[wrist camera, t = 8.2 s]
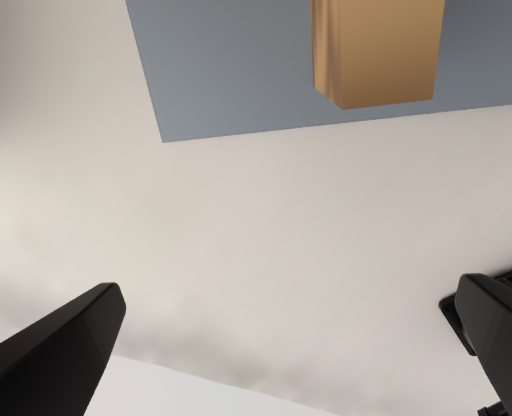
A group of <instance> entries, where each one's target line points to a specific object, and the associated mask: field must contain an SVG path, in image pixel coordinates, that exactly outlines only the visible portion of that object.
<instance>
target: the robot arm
mask: <svg viewBox="0 0 512 416" xmlns="http://www.w3.org/2000/svg"><path fill="white" fill-rule="evenodd" d="M438 306H439V308H440V310H441V311H442V313H443V314H444V316H445V317H446V319H447V321H448V322H449V324H450V325H451V327H452V328H453V330H454V331H455V333H456V334H457V336H458V338H459V339H460V341H461V342H462V344H463V345H464V347H465V348H466V350H467V351H468V353H469V354H470V355H471V356H477V357H478V359H479V361H480V363H481V365H482V367H483V369H484V371H485V373H486V375H487V377H488V379H489V380H490V382H491V384H492V386H493V387H494V389H495V391H496V393H497V394H498V396H499V398H500V400H501V401H499V402H497V403H495V404H494V405H492V406H490V407H488V408H486V407H484V408H482V409H480V410H478V411H477V412H478V415H479V416H512V271H511V272H509V273H506V274H504V275H502V276H499V277H497V278H495V279H492V278H490V277H488V276H486V275H484V274H481V273H469V274H463V275H462V276H461V277H460V280H459V284H458V288H457V292H456V295H454V296H452V297H449V298H447V299H445V300H442V301H441V302H440V303H439V305H438ZM446 306H447V307H446ZM125 313H126V304H125V301H124V298H123V295H122V293H121V290H120V287H119V285H118V284H117V283H114V282H109V283H100V284H98V285H97V286H95V287H93V288H92V289H90V290H88V291H87V292H85V293H83V294H82V295H80V296H78V297H77V298H75V299H73V300H72V301H70V302H68V303H67V304H65V305H63V306H62V307H60V308H58V309H57V310H55V311H53V312H52V313H50V314H48V315H46V316H45V317H43V318H41V319H40V320H38V321H36V322H35V323H33V324H31V325H30V326H28V327H26V328H25V329H23V330H21V331H20V332H18V333H16V334H15V335H13V336H11V337H10V338H8V339H6V340H5V341H3V342H1V343H0V416H83V415H84V413H85V411H86V409H87V407H88V405H89V402H90V401H91V398H92V396H93V394H94V392H95V390H96V388H97V386H98V383H99V381H100V379H101V377H102V375H103V373H104V370H105V368H106V365H107V363H108V361H109V358H110V355H111V352H112V350H113V347H114V344H115V341H116V338H117V336H118V333H119V330H120V327H121V324H122V322H123V319H124V316H125Z"/></svg>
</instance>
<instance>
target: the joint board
mask: <svg viewBox="0 0 512 416" xmlns="http://www.w3.org/2000/svg"><path fill="white" fill-rule="evenodd" d="M125 1H126V5H127V9H128V13H129V16H130V20H131V24H132V28H133V32H134V35H135V39H136V43H137V47H138V51H139V55H140V58H141V62H142V66H143V70H144V74H145V78H146V81H147V85H148V89H149V93H150V97H151V101H152V104H153V108H154V112H155V116H156V120H157V124H158V127H159V131H160V135H161V139H162V143H165V142H174V141H183V140H192V139H202V138H211V137H220V136H229V135H238V134H247V133H256V132H265V131H274V130H283V129H292V128H301V127H310V126H320V125H329V124H338V123H347V122H356V121H365V120H374V119H383V118H392V117H401V116H410V115H419V114H428V113H438V112H447V111H456V110H465V109H474V108H483V107H492V106H501V105H510V104H512V0H445V4H444V11H443V19H442V27H441V35H440V43H439V51H438V59H437V67H436V75H435V83H434V91H433V99H432V100H425V101H417V102H408V103H400V104H391V105H382V106H374V107H365V108H356V109H348V110H342V109H341V108H339V107H338V106H337V105H336V104H334V103H333V102H332V101H330V100H329V99H328V98H327V97H325V96H324V95H323V94H321V93H320V92H319V91H318V90H316V89H315V88H314V87H313V68H312V41H311V14H310V0H125Z"/></svg>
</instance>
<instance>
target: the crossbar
mask: <svg viewBox="0 0 512 416" xmlns="http://www.w3.org/2000/svg"><path fill="white" fill-rule="evenodd" d="M444 4H445V0H310V14H311V41H312V68H313V87H314V88H315V89H316V90H318V91H319V92H320V93H321V94H323V95H324V96H325V97H327V98H328V99H329V100H330V101H332V102H333V103H334V104H336V105H337V106H338V107H339V108H341V109H342V110H348V109H356V108H365V107H374V106H382V105H391V104H400V103H408V102H417V101H425V100H432V99H433V91H434V83H435V75H436V67H437V59H438V51H439V43H440V35H441V27H442V19H443V11H444Z"/></svg>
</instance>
